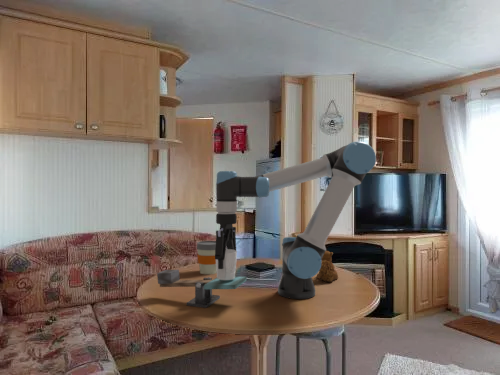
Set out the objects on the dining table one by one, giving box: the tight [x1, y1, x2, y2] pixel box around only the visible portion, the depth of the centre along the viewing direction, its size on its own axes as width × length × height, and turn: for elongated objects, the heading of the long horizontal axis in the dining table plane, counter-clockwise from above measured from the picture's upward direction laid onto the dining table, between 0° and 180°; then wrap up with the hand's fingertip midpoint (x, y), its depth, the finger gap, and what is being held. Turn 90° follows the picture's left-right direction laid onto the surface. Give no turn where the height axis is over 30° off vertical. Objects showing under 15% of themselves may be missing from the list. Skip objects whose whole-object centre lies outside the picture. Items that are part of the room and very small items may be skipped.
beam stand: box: [186, 276, 221, 309], centre depth 134 cm, size 8×12×8 cm, turn 161°
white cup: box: [216, 248, 238, 280], centre depth 132 cm, size 8×8×10 cm
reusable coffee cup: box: [196, 240, 217, 275], centre depth 181 cm, size 13×13×15 cm
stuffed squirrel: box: [316, 250, 339, 283], centre depth 168 cm, size 10×14×13 cm
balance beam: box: [156, 269, 248, 290], centre depth 135 cm, size 33×12×6 cm, turn 71°
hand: (226, 274), depth 132 cm, fingers closed on white cup, 8 cm apart
